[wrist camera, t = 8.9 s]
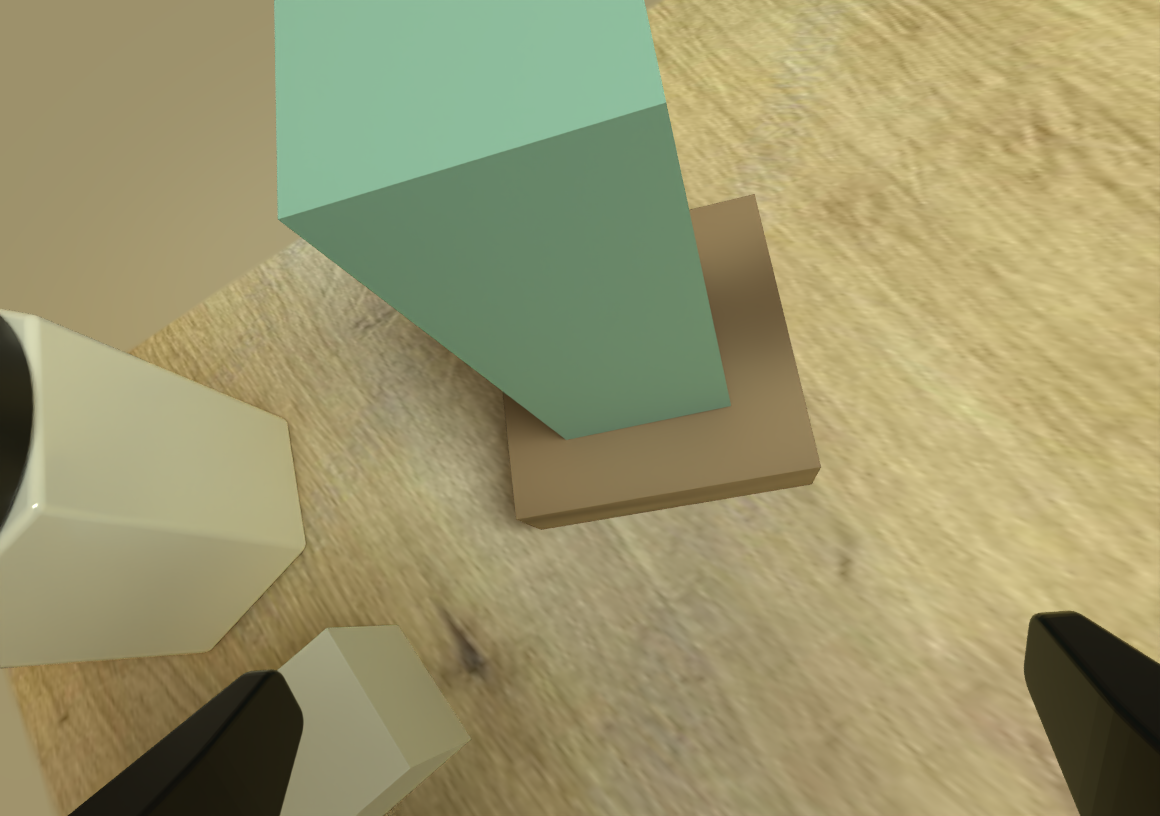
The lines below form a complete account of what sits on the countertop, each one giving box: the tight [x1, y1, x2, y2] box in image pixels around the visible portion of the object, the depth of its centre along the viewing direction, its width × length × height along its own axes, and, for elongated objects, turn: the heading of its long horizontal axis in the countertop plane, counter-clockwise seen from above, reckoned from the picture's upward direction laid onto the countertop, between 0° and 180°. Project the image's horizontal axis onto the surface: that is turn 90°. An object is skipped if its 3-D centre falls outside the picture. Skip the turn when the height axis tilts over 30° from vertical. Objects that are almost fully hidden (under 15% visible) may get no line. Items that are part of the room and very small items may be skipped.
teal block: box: [274, 0, 731, 440], centre depth 14 cm, size 4×4×12 cm
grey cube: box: [277, 625, 471, 816], centre depth 19 cm, size 4×4×4 cm
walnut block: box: [503, 194, 821, 530], centre depth 21 cm, size 8×8×3 cm
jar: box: [0, 309, 306, 669], centre depth 18 cm, size 9×8×12 cm
